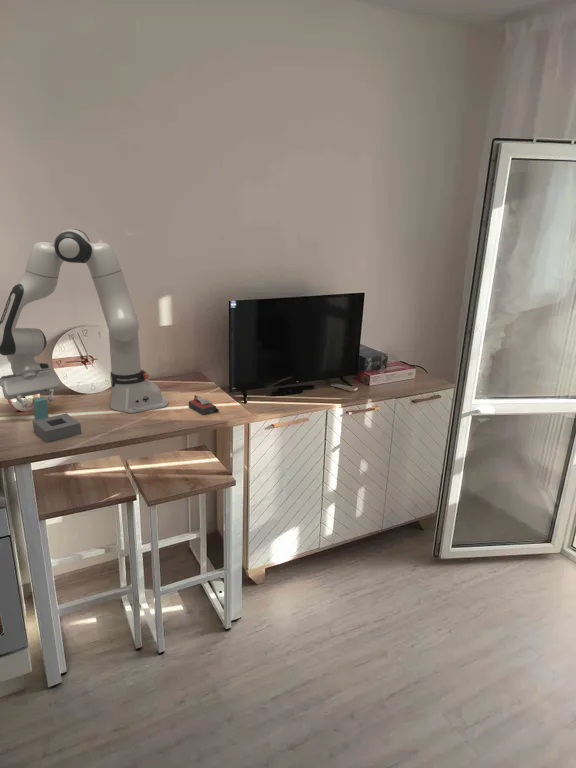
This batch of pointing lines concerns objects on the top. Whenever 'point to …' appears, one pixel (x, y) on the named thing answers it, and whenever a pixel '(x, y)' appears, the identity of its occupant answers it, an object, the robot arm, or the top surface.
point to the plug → (40, 408)
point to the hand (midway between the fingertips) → (38, 403)
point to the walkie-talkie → (202, 406)
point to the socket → (56, 427)
